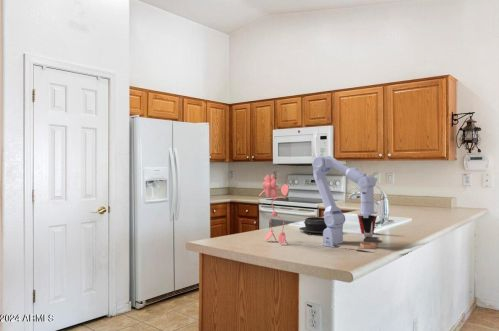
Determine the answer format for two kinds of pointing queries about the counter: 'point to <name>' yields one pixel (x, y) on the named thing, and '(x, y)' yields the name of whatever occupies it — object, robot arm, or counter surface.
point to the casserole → (314, 225)
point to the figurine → (271, 190)
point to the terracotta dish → (368, 245)
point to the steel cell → (369, 233)
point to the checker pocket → (371, 239)
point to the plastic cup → (362, 223)
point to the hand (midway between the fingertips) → (368, 232)
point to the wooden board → (365, 248)
